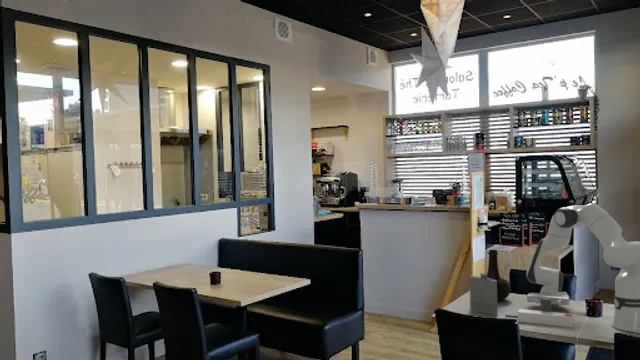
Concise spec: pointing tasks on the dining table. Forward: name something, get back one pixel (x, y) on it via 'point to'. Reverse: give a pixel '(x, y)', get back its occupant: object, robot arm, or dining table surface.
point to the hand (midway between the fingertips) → (547, 302)
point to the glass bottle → (497, 276)
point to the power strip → (544, 317)
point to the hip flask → (483, 294)
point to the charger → (546, 304)
